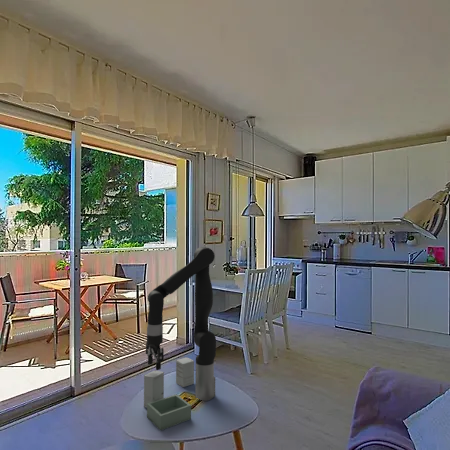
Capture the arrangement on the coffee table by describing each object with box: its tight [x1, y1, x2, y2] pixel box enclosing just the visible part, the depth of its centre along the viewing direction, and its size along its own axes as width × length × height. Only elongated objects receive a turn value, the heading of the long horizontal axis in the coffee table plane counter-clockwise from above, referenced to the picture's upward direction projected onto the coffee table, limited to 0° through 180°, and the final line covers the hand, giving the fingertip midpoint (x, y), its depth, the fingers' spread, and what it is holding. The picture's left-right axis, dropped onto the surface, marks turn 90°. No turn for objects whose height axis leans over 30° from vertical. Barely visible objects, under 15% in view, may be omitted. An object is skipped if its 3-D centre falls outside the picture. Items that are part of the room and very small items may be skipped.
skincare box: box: [143, 369, 165, 408], centre depth 166 cm, size 8×6×15 cm
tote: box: [146, 394, 192, 432], centre depth 154 cm, size 15×13×6 cm
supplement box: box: [175, 357, 195, 388], centre depth 189 cm, size 7×7×13 cm
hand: (154, 366), depth 166 cm, fingers open, 8 cm apart
